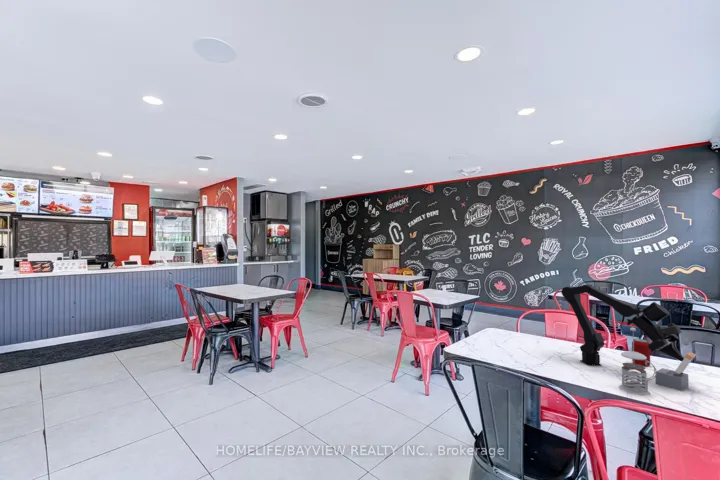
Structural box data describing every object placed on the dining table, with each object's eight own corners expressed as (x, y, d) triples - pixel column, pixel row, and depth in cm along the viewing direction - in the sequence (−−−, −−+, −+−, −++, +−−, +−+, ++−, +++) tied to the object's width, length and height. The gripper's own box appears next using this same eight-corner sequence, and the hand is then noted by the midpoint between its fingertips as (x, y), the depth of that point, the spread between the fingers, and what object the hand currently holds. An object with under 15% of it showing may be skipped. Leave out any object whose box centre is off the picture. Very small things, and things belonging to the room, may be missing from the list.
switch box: (655, 384, 135) (655, 369, 135) (662, 379, 140) (662, 365, 140) (681, 391, 128) (681, 375, 128) (688, 386, 133) (688, 371, 133)
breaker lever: (672, 373, 132) (686, 353, 129) (676, 370, 135) (690, 351, 131) (678, 376, 130) (692, 357, 127) (682, 374, 133) (696, 354, 130)
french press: (616, 383, 136) (615, 323, 136) (652, 389, 130) (651, 327, 131) (621, 391, 127) (619, 328, 128) (660, 398, 121) (658, 332, 122)
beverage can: (643, 362, 162) (642, 338, 162) (654, 367, 155) (653, 342, 156) (628, 361, 163) (628, 338, 163) (639, 366, 156) (638, 341, 156)
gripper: (657, 319, 131) (696, 354, 122) (672, 315, 141) (709, 346, 131) (633, 334, 138) (669, 368, 128) (649, 329, 148) (683, 360, 138)
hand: (683, 360), depth 131 cm, fingers closed, pressing on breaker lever
